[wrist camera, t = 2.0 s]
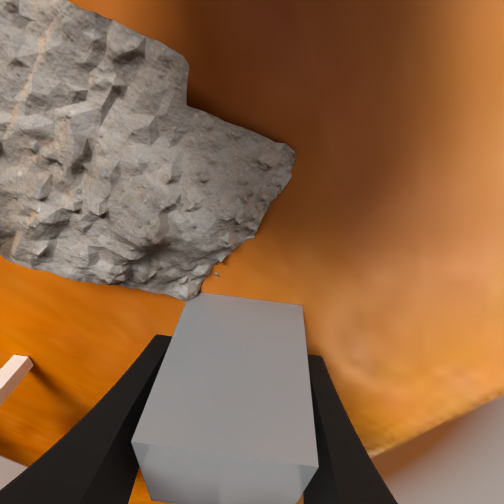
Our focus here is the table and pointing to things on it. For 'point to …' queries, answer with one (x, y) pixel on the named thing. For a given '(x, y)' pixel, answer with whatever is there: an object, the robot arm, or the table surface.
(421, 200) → the table surface
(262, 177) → the stone fragment
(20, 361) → the miniature coffee table
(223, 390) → the stone block
